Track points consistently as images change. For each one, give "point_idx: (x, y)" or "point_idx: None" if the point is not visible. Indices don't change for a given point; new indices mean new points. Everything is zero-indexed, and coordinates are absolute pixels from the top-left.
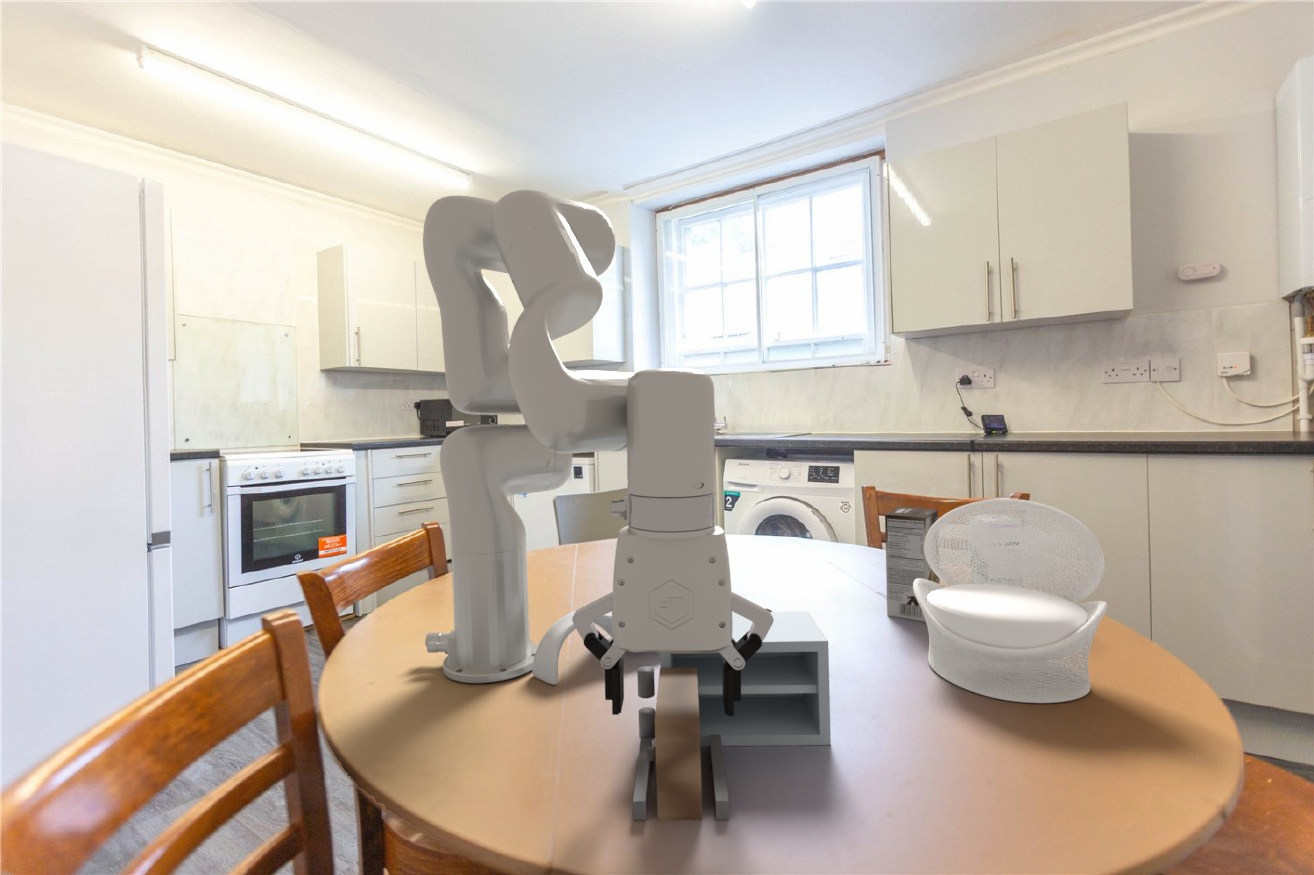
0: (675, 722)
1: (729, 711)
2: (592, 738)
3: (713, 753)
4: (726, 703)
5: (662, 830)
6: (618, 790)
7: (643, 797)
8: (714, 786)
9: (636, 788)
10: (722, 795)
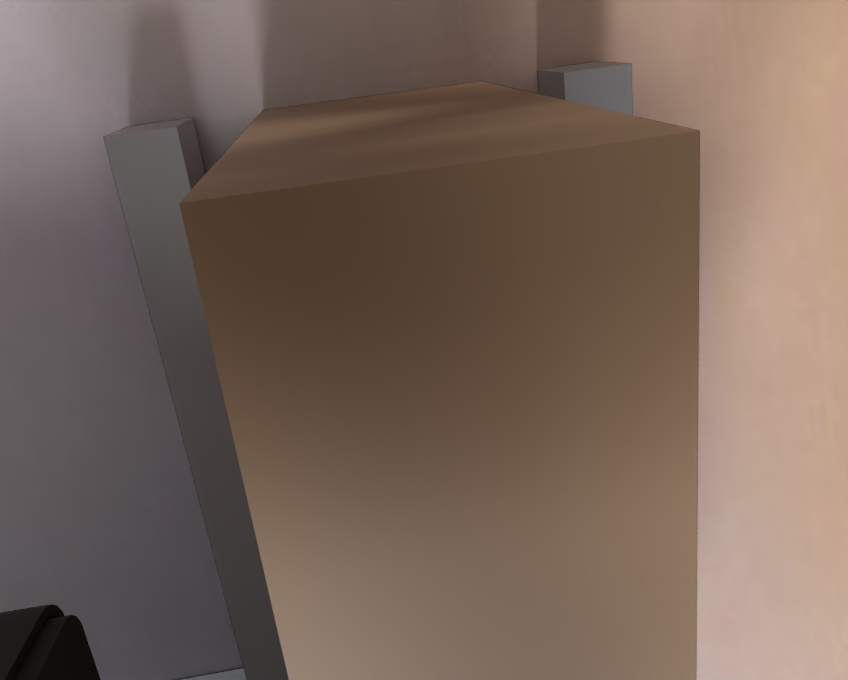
0: (459, 159)
1: (18, 623)
2: (844, 617)
3: None
4: (23, 676)
5: (448, 4)
6: None
7: None
8: None
9: None
10: (147, 179)
